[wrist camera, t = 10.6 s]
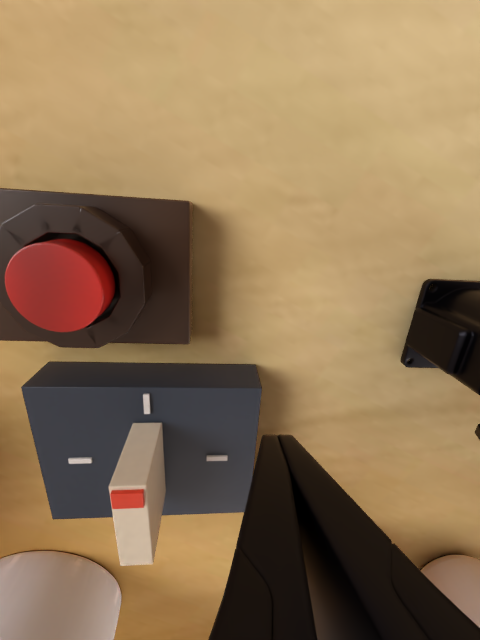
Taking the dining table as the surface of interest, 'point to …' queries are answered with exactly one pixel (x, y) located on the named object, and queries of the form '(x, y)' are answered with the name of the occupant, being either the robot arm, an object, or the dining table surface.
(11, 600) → the utensil holder
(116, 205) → the button block
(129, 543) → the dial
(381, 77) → the dining table surface
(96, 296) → the button
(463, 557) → the vase
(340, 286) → the dining table surface
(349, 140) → the dining table surface
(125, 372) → the control panel
